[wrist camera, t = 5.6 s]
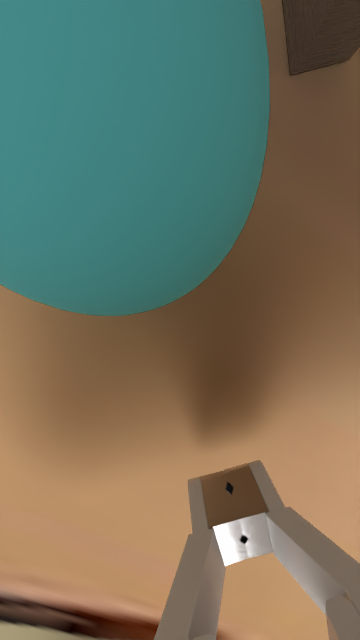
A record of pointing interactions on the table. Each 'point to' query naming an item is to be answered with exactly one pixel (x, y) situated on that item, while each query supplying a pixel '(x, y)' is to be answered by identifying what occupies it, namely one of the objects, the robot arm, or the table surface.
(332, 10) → the bridge
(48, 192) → the ball
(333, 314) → the table surface
